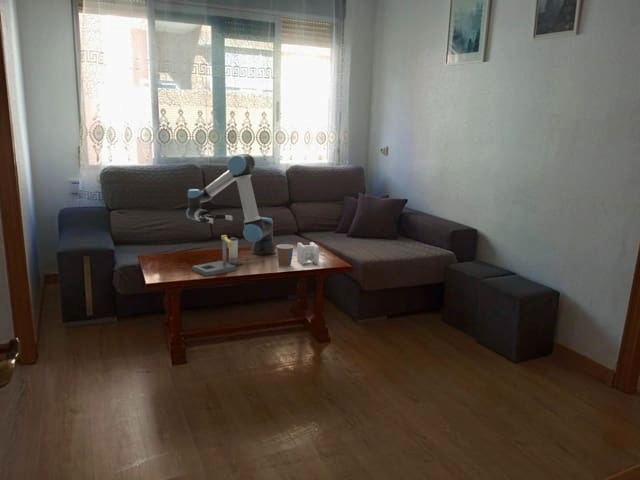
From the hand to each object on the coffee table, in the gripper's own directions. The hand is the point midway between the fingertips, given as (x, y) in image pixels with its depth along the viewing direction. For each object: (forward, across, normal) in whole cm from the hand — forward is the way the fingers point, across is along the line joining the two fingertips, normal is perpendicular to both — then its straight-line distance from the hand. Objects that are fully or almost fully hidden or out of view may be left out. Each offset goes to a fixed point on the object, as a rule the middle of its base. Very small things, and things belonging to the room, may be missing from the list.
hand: (222, 219), depth 304 cm
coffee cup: (+31, -22, -27) cm, 46 cm away
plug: (+10, 0, -25) cm, 27 cm away
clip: (+20, +11, -10) cm, 25 cm away
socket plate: (+14, +16, -26) cm, 33 cm away
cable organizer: (+34, -38, -27) cm, 58 cm away
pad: (+10, 0, -26) cm, 27 cm away
